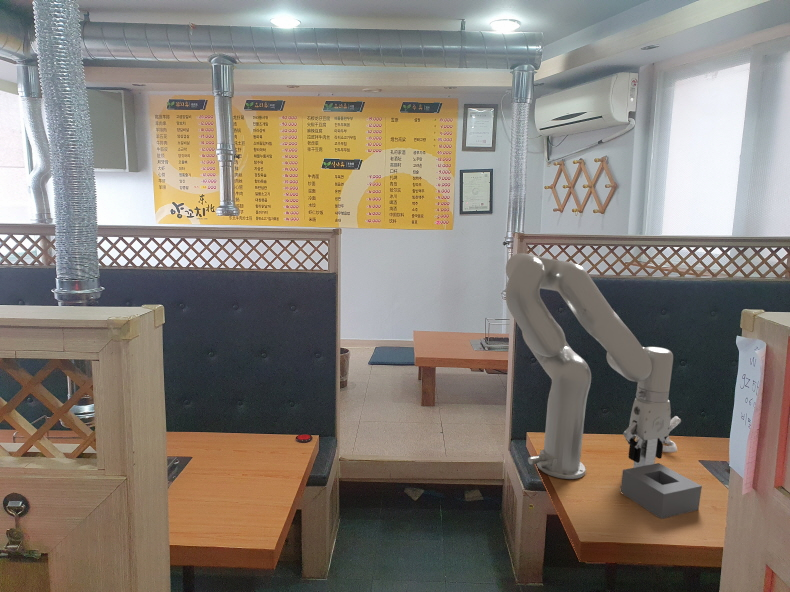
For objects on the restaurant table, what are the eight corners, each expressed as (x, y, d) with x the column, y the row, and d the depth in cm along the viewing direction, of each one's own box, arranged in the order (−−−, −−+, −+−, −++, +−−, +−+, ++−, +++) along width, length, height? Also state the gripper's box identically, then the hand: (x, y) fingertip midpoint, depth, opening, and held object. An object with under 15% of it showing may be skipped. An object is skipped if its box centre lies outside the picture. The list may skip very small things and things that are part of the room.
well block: (661, 518, 118) (664, 494, 117) (620, 492, 129) (622, 469, 128) (698, 509, 123) (701, 485, 122) (656, 485, 133) (658, 463, 133)
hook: (701, 437, 152) (686, 425, 150) (670, 464, 155) (656, 453, 153) (685, 422, 159) (671, 411, 157) (657, 448, 162) (642, 438, 160)
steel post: (643, 477, 137) (648, 430, 136) (632, 471, 141) (638, 425, 139) (653, 475, 139) (658, 428, 137) (642, 469, 142) (647, 423, 140)
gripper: (638, 402, 130) (631, 469, 132) (688, 396, 136) (680, 460, 139) (616, 392, 137) (609, 456, 139) (664, 387, 143) (657, 448, 146)
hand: (644, 457), depth 139 cm, fingers open, 7 cm apart
